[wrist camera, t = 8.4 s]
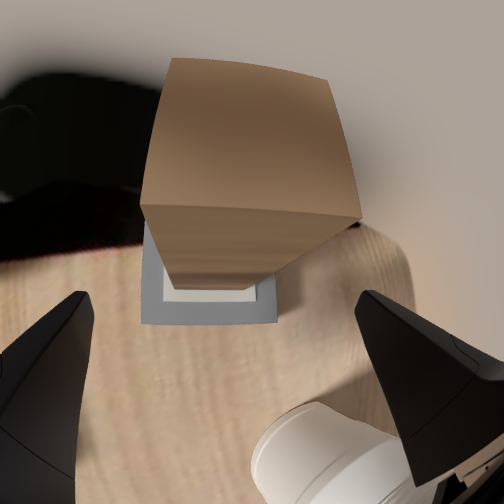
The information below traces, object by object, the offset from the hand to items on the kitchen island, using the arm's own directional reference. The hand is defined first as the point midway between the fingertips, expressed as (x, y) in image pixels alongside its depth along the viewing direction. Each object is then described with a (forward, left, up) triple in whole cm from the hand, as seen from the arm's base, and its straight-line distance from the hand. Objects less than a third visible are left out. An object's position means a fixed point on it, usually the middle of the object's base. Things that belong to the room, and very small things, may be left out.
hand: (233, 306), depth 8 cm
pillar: (+3, -2, -9) cm, 10 cm away
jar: (-16, +2, -13) cm, 21 cm away
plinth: (+3, -2, -13) cm, 13 cm away
